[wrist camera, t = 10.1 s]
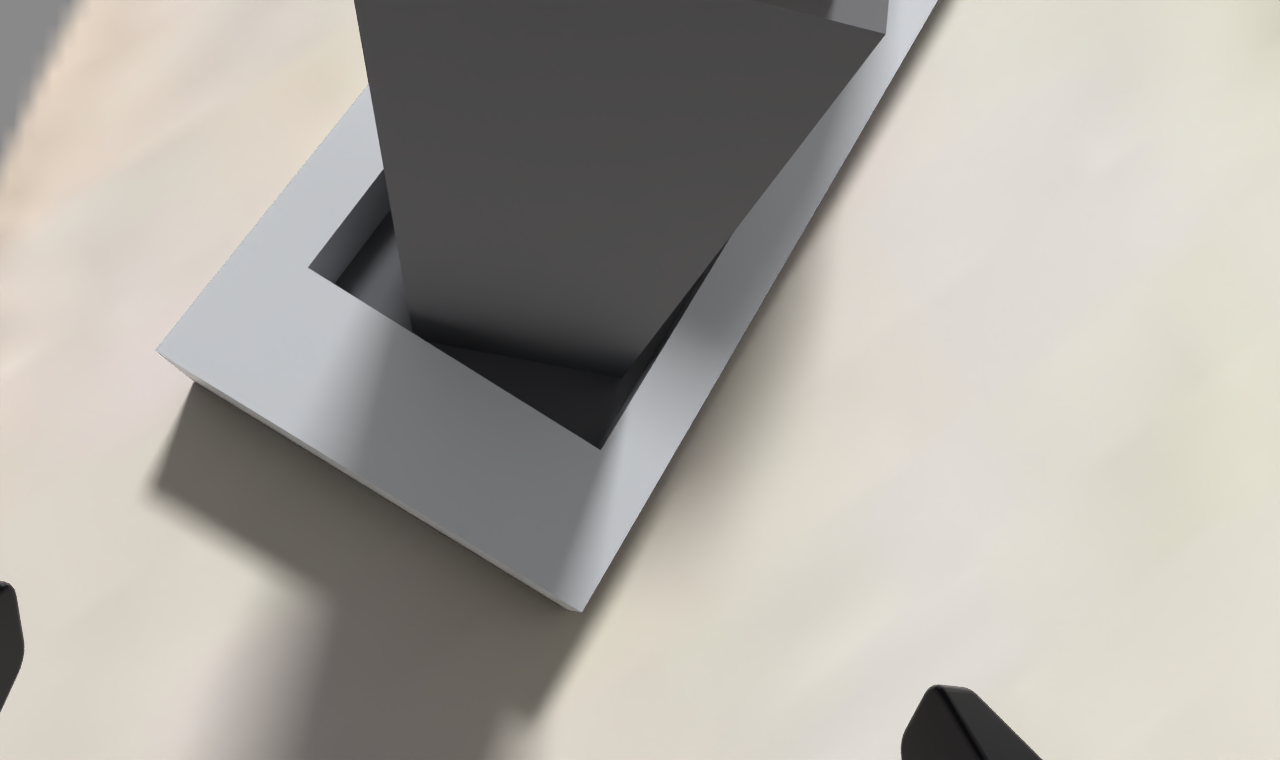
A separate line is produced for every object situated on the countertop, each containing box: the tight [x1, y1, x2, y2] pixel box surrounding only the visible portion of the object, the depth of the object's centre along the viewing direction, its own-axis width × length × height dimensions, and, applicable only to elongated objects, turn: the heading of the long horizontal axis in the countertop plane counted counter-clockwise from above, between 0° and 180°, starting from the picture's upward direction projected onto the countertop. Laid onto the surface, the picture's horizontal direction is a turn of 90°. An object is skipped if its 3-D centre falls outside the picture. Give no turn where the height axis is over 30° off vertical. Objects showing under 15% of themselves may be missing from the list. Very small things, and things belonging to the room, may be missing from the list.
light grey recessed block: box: [155, 0, 938, 612], centre depth 21 cm, size 22×9×2 cm, turn 149°
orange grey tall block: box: [354, 0, 889, 378], centre depth 14 cm, size 4×4×14 cm
